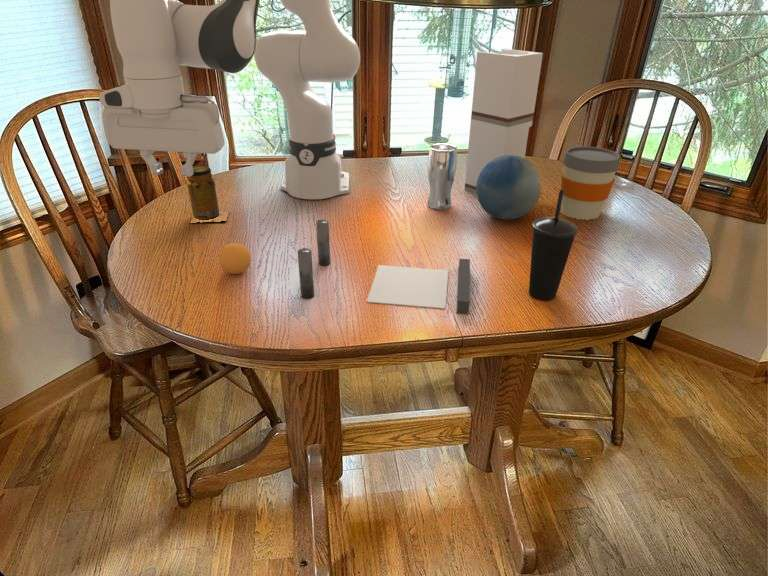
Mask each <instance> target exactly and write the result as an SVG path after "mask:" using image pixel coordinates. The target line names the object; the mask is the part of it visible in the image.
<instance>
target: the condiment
mask: <svg viewBox="0 0 768 576" xmlns="http://www.w3.org/2000/svg"><path fill="white" fill-rule="evenodd" d="M193 172H194V173H193V175H192V176H191V177H188V176H187V179H188V180H187V182H186V183H187V184H186V185H187V188H188V194H189V200H190V201H189V202H190V206H191V211H192V217H193V216H194V218H196V219H199V220H209V219H214V218H216V217H218V216H219V215H220V214H219V211H220V210H219V209H220V208H219V202H218V197H217V196H218V195H217V191H216V182H215V179H214V178H213V174H212V169H211V167H209V166H204V165H197V166H193Z"/></svg>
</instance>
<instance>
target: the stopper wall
mask: <svg viewBox="0 0 768 576" xmlns="http://www.w3.org/2000/svg"><path fill="white" fill-rule="evenodd" d="M458 260H459V261H458V262H459V263H458V271H457V272H458V274H457V275H458V276H457V297H456V298H457V299H456V300H457V301H456V314H461V315H462V314H464V315H469V311H470V302H471V301H470V297H471V296H470V295H471V293H470V291H471V288H470V286H471V285H470V284H471V282H470V281H471V278H470V277H471V275H470V273H471V271H470V269H471V267H470V266H471V264H470V263H471V261H470V260H471V259H470V258H459V259H458Z"/></svg>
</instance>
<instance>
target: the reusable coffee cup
mask: <svg viewBox="0 0 768 576" xmlns="http://www.w3.org/2000/svg"><path fill="white" fill-rule="evenodd" d="M620 157H621V155H620V154H619V153H618V152H616V151H613V150H610V149H607V148H603V147H602V148H601V147H596V146H595V147H594V146H572V147H569V148H567V149H566V151H565V154H564V157H563V161H562V164H563V171H562V173H561V181H560V182H561V183H560V190H564V193H563V198H562V203H561V209H560V212H561V213H562V214H563V215H564V214H565V215H564V216H566V217H568V216H569V217H568V218H570V217H572V218H571V219H574V218H576V219H575V220H579V219H583V220H582V221H591V220H590V219H593V220H596V219H598V218H599V217H600V214H601V212H602V209H603V206H604V203H605V201H606V200H607V199H608V198H609V196H610V194H611V190H612V188H613V186H614V182H615V178H614V177H615V174H616V172H617V171H618V170H619V165H620ZM598 216H599V217H598ZM597 217H598V218H597ZM595 218H596V219H595ZM584 219H585V220H584Z"/></svg>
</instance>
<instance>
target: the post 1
mask: <svg viewBox="0 0 768 576" xmlns="http://www.w3.org/2000/svg"><path fill="white" fill-rule="evenodd" d="M312 253H313V252H312V249H310V248H308V247H307V248H306V247H305V248H299V249H298V250H297V261H298V272H299V274H298V275H299V284H300V285H299V286H300V297H301V299H305V300H310V299H313V298H314V297H315V285H314V284H315V283H314V282H315V281H314V270H313V255H312Z"/></svg>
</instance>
